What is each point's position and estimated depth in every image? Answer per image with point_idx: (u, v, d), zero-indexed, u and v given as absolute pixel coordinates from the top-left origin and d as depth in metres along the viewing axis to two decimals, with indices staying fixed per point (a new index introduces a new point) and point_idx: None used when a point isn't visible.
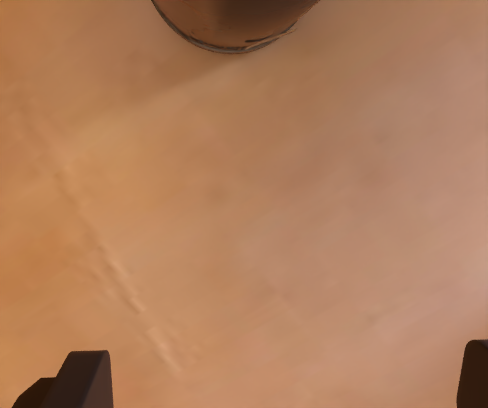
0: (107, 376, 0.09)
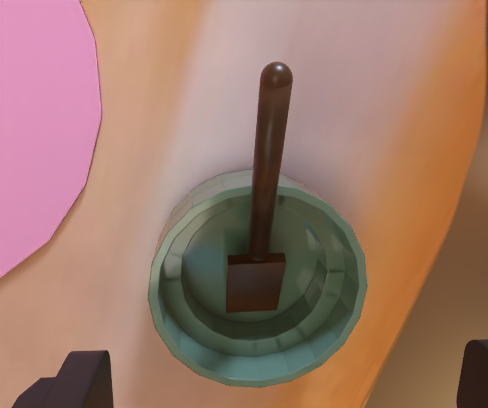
0: (107, 376, 0.09)
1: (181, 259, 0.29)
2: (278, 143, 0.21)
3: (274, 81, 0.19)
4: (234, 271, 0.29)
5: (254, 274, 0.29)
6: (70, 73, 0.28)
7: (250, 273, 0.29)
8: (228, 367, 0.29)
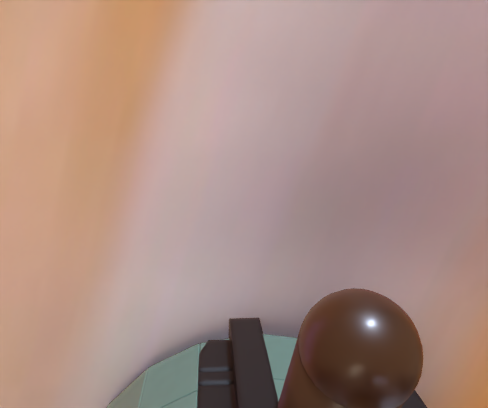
0: None
1: None
2: None
3: (359, 398, 0.05)
4: None
5: None
6: None
7: None
8: None
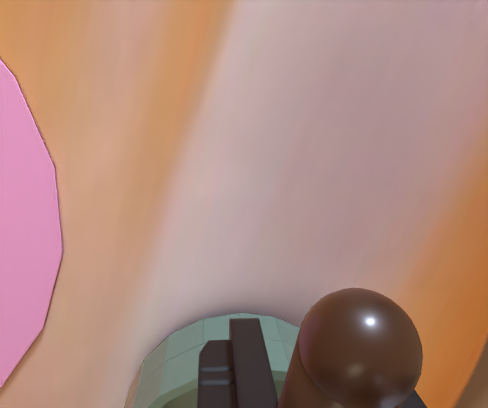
0: None
1: None
2: None
3: (359, 398, 0.05)
4: None
5: None
6: (24, 206, 0.23)
7: None
8: None
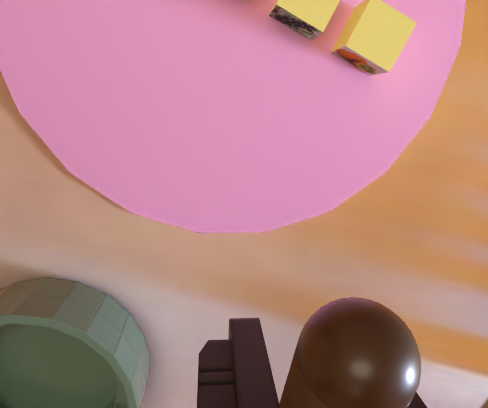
0: None
1: None
2: None
3: None
4: None
5: None
6: (237, 209, 0.30)
7: None
8: None
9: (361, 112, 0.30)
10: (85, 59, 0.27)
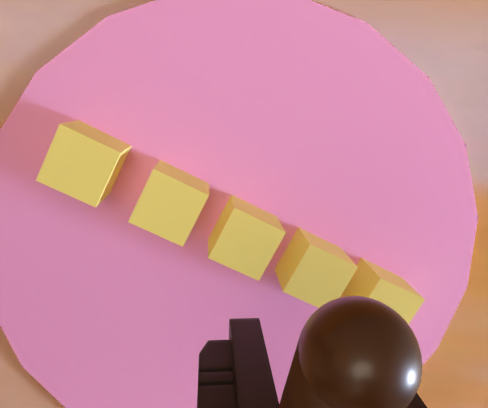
0: None
1: None
2: None
3: (358, 407, 0.05)
4: None
5: None
6: None
7: None
8: None
9: None
10: (89, 317, 0.27)
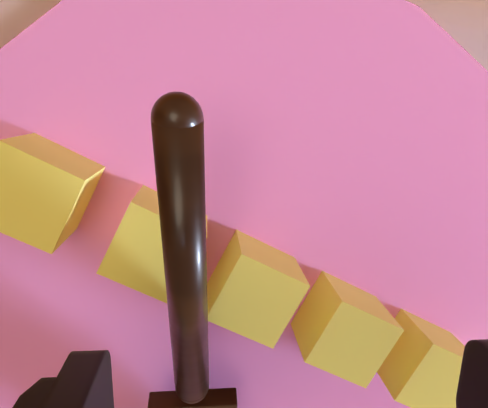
0: (108, 376, 0.09)
1: None
2: None
3: None
4: None
5: None
6: None
7: None
8: None
9: None
10: None
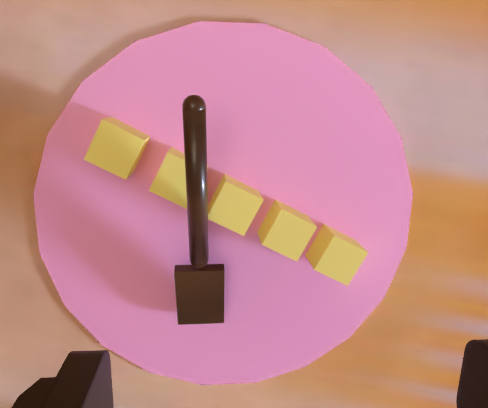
0: (107, 376, 0.09)
1: None
2: None
3: None
4: None
5: None
6: (232, 367, 0.39)
7: None
8: None
9: (329, 296, 0.38)
10: (115, 267, 0.35)
